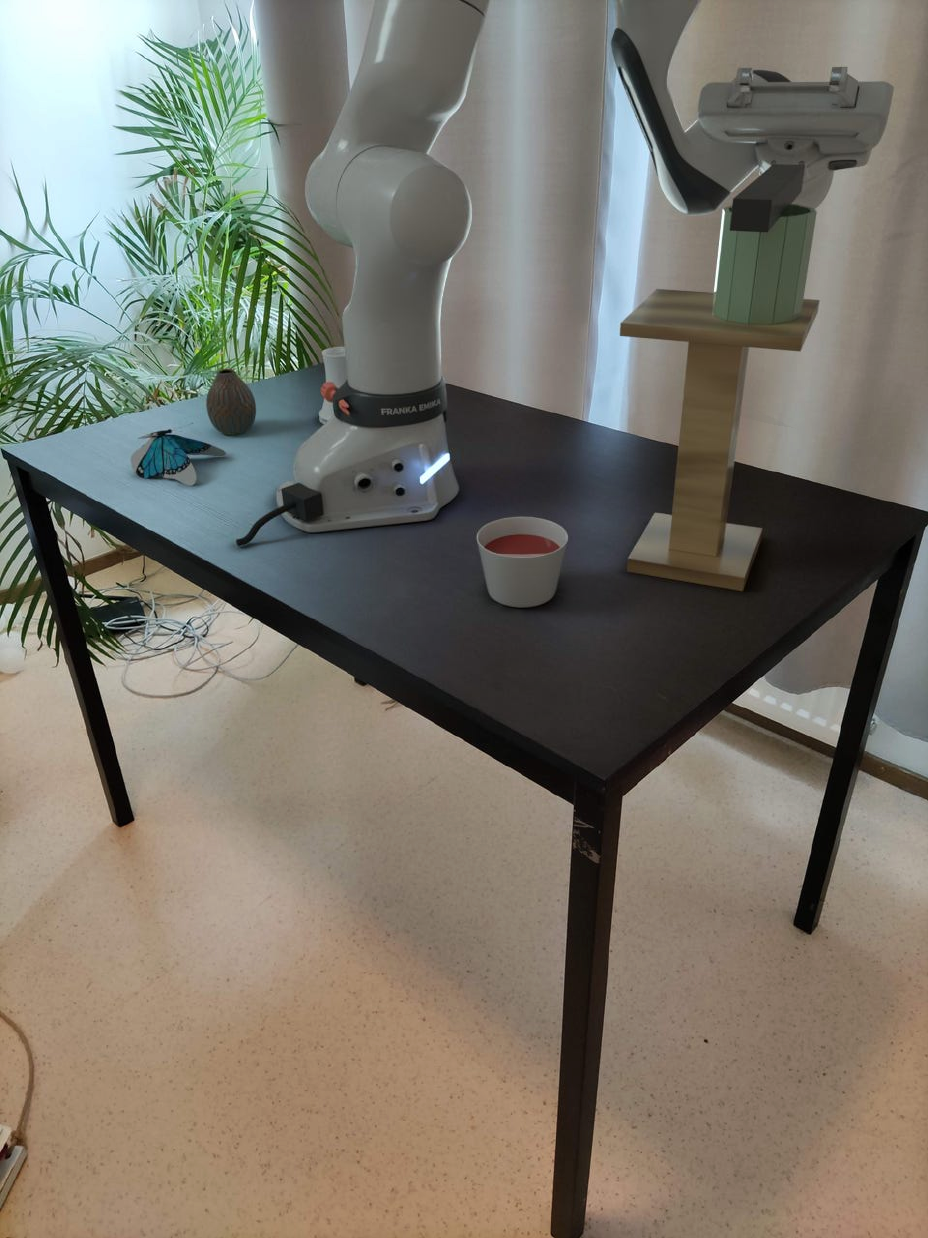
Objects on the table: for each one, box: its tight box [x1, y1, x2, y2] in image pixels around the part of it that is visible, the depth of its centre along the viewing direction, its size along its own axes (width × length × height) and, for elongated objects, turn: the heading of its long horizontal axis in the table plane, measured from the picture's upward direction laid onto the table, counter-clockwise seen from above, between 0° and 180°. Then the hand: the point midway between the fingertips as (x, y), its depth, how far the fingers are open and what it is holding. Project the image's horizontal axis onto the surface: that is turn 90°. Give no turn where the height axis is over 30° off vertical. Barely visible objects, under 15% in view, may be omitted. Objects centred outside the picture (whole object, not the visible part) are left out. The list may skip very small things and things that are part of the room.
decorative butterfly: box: [130, 422, 227, 487], centre depth 129 cm, size 10×6×10 cm
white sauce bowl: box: [476, 516, 569, 609], centre depth 98 cm, size 9×9×6 cm
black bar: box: [730, 164, 805, 232], centre depth 85 cm, size 22×3×2 cm, turn 157°
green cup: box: [712, 204, 818, 324], centre depth 88 cm, size 8×8×9 cm
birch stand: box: [619, 288, 821, 592], centre depth 98 cm, size 14×16×26 cm
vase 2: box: [318, 346, 347, 425], centre depth 142 cm, size 8×8×10 cm
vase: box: [205, 368, 257, 436], centre depth 139 cm, size 7×7×9 cm
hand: (790, 73), depth 100 cm, fingers open, 8 cm apart
